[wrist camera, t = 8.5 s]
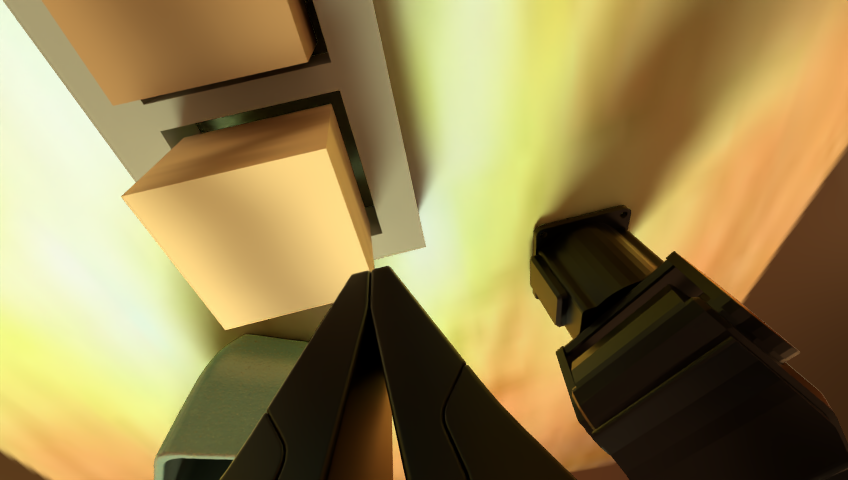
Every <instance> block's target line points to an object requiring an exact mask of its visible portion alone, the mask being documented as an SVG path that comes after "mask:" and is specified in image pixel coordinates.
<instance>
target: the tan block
mask: <svg viewBox="0 0 848 480" xmlns="http://www.w3.org/2000/svg"><path fill="white" fill-rule="evenodd" d="M42 2H43V3H44V5H45V6H46V8H47V9H48V11H49V12H50V14H51V15H52V17H53V18H54V19H55V21H56V22H57V24H58V25H59V27H60V28H61V30H62V31H63V33H64V34H65V36H66V37H67V39H68V40H69V42H70V43H71V45H72V46H73V47H74V49H75V50H76V52H77V53H78V55H79V56H80V58H81V59H82V61H83V62H84V64H85V65H86V67H87V68H88V70H89V71H90V73H91V74H92V76H93V77H94V78H95V80H96V81H97V83H98V84H99V86H100V87H101V89H102V90H103V92H104V93H105V95H106V96H107V98H108V99H109V101H110V102H111V104H112V105H113V106H115V105H119V104H124V103H128V102H133V101H137V100H142V99H146V98H151V97H155V96H159V95H164V94H168V93H173V92H177V91H182V90H186V89H191V88H195V87H199V86H204V85H208V84H213V83H217V82H222V81H226V80H231V79H235V78H240V77H244V76H248V75H253V74H257V73H262V72H266V71H271V70H275V69H280V68H284V67H288V66H293V65H297V64H302V63H306V62H308V61H309V59H310V57H311V55H312V53H313V51H314V49H315V46H316V44H317V42H318V41H317V38H316V35H315V32H314V28H313V25H312V22H311V19H310V15H309V12H308V9H307V6H306V3H305V0H42Z"/></svg>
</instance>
